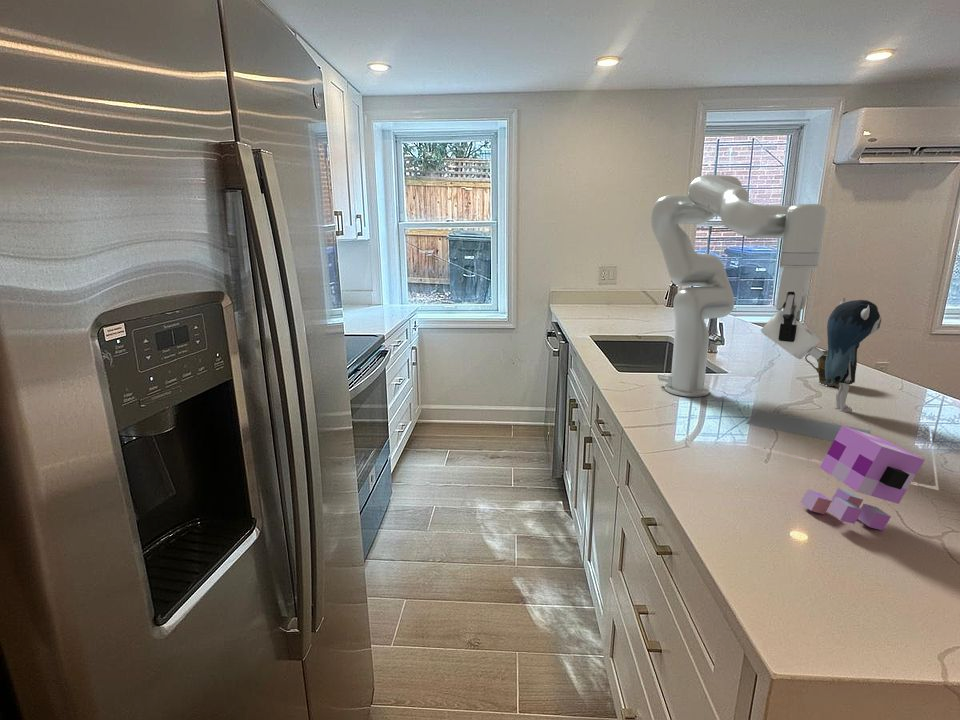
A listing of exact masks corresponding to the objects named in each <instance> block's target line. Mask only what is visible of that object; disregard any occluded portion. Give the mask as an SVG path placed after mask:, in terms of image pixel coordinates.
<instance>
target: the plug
mask: <svg viewBox="0 0 960 720" xmlns="http://www.w3.org/2000/svg"><path fill="white" fill-rule="evenodd" d="M782 315H783V310H782V309H781V310H777V312H776V313H775V314H774V315H773V316H772V317H771V318H770V319H769V320H768V322H766V323H765V325H763V327H761V329H760V332H761V333H762V334H763V335H764V336H766V337H767V338H768V339H770V340H771V341H772V342H774V343H775V344H776V345H778V346H779V347H780V348H782V349H783V350H785V351H786V352H788V353H789V354H790V355H791V356H793V357H794V358H796V359H799V360H803V358H805V357H806V355H807V354H810V355H809V356H811V357H812V358H814V359H815V360H816V359H817V360H818V359H819V358H820V357H821V356H822V355H823V354H824V352H822V351H823V350H821V349H819V348H818V347H817V345H818V343H820V342H821V341H822V337H820V336H819V335H818V334H817V333H816V332H814V331H812V330H811V329H810V328H809V327H807V326H805V325H804V324H803V323H801V322H800V321H799V322H798V321H797V320H796V324H795V325H797V327H796V334H795V341H794V342H787V341H779V331H780V324H781V321H782ZM817 360H816V361H817Z"/></svg>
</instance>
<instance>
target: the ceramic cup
mask: <svg viewBox="0 0 960 720" xmlns="http://www.w3.org/2000/svg"><path fill="white" fill-rule="evenodd" d="M821 351H822V352H824V354H823V355H822V356H821V357H820V358H819V359H818V360H817V359H815V360H816V362H817V367H816V366H815V365H814V364H813V363H811V362H810V361H809V360H808V358H807V357H808V356H811V355H810V354H808V353H807V354H806V355H805V356H804V360H805V361H806V362H807V363H808V364H809V365H811V366H812V368H813V369H814V370H816V372H817V374H818V380H819V383H821V384H824V385H827V386H826V387H828V386H835V387H834V388H836V387H838V388H839V387H840V385H839V383H838V382H834V384H832V385H829V384H830V383H831V378H830V379H829V380H830V381H829V382H828V383H824V382H825V381H826V378H825V362H826V357H827V354H828V349H827V350H821ZM819 383H818V384H819ZM821 384H820V385H821ZM824 385H823V386H824Z"/></svg>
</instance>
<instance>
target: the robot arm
mask: <svg viewBox="0 0 960 720" xmlns="http://www.w3.org/2000/svg"><path fill="white" fill-rule="evenodd" d="M749 200H750V196H749V192H748V190H747V189H746V188H745V187H743V185H742V182H741V181H740V179H738V178H737V177H735V176H733V175H729V174H727V175H726V174H725V175H724V174H721V175H720V174H704V175H700V176H698V177H696V178H694V179H693V180H692V181H691V183H690V184H689V186H688V189H687V194H682V193H681V194H680V193H679V194H668V195H665V196H662V197H660V198H659V199H657V200H656V201H655V203H654V204H653V207H652V210H651V216H650V224H651V227H652V232H653V235H654V236H655V238H656V240H657V242H658V245H659V247H660V249H661V252H662V256H663V259H664V262H665V264H666V269H667V271H668V272H667V273H668V275H669V278H670V281H671V282H672V284H674V285H675V286H680V287H685V288H683V289H681V290H679V291H678V292H677V293H676V294H675V296H674V298H673V303H672V304H673V305H672V307H673V314H674V336H673V337H674V338H673V350H672V360H671V373H669V374H666V373H661V372H659V373H658V374H657V380H658V381H660V382H665V384H664V391H666V392H668V393H670V394H673V395H676V396H682V397H691V398H698V397H699V398H700V397H705V396H707V395H709V394H710V389H709V387H708V386H706V385H705V381H706V370H707V363H708V362H707V360H708V352H709V342H710V332H709V329H708V326H707V324H706V322H705V320H708V319H709V320H710V319H721V318H724V317H727V316H729V315H730V314H731V313H732V312H733V310H734V307H735V295H734V291H733V289H732V286H731V283H730V281H729V278H728V274H727V272H726V267H725V266H724V263H723V262H722V260H721V259H720V258H719V257H718V256H716V255H714V254H712V253H698V252H696V251H695V249H694V246H693V245H692V241H691V239H690V236H689V235H688V234H687V233H686V231H684V230H683V228H681V227H680V225H700V224H704V223H706V222H709V221H711V220H713V219H714V218H716V217H717V216H718V217H720V220H721V222H722V224H723V225H724V226H725V228H727V229H728V230H731V231H732V232H734V233H735V234H738V235H740V236H743V237H746V238H748V239H749V238H750V239H782V243H781V252H780V259H779V268H782V272H781V277H780V282H779V286H778V287H779V288H778V291H777V292H778V294H777V299H776V305H775V309H776V311H779V310H781V311H783V315H782V321H781V324H780V331H779V341H787V342H794V341H795V334H796V327H797V325H795V324H796V320H797V321H798V322H800V320H801V313H802V310H803V309H805V308H806V305H807V301H808V296H809V295H808V294H809V290H810V284H811V275H812V270H813V269H817V268H819V262H820V254H821V248H822V242H823V235H824V230H825V228H824V227H825V223H826V222H825V221H826V215H827V208H826V206H825V205H823V204H819V203H804V204H803V203H802V204H794V205H777V204H756V203H752V202H750V201H749Z"/></svg>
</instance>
